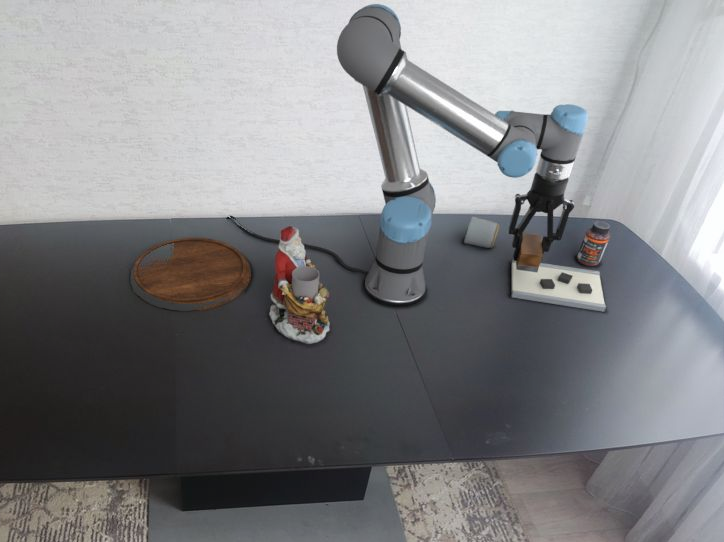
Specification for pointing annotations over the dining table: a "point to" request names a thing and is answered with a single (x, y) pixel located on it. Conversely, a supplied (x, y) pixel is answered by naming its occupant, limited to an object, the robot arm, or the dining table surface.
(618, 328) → the dining table surface
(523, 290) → the whiteboard
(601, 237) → the supplement bottle
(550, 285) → the grey block
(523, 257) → the eraser
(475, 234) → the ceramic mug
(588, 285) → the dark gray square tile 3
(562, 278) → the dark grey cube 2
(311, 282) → the santa figurine
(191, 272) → the cutting board
